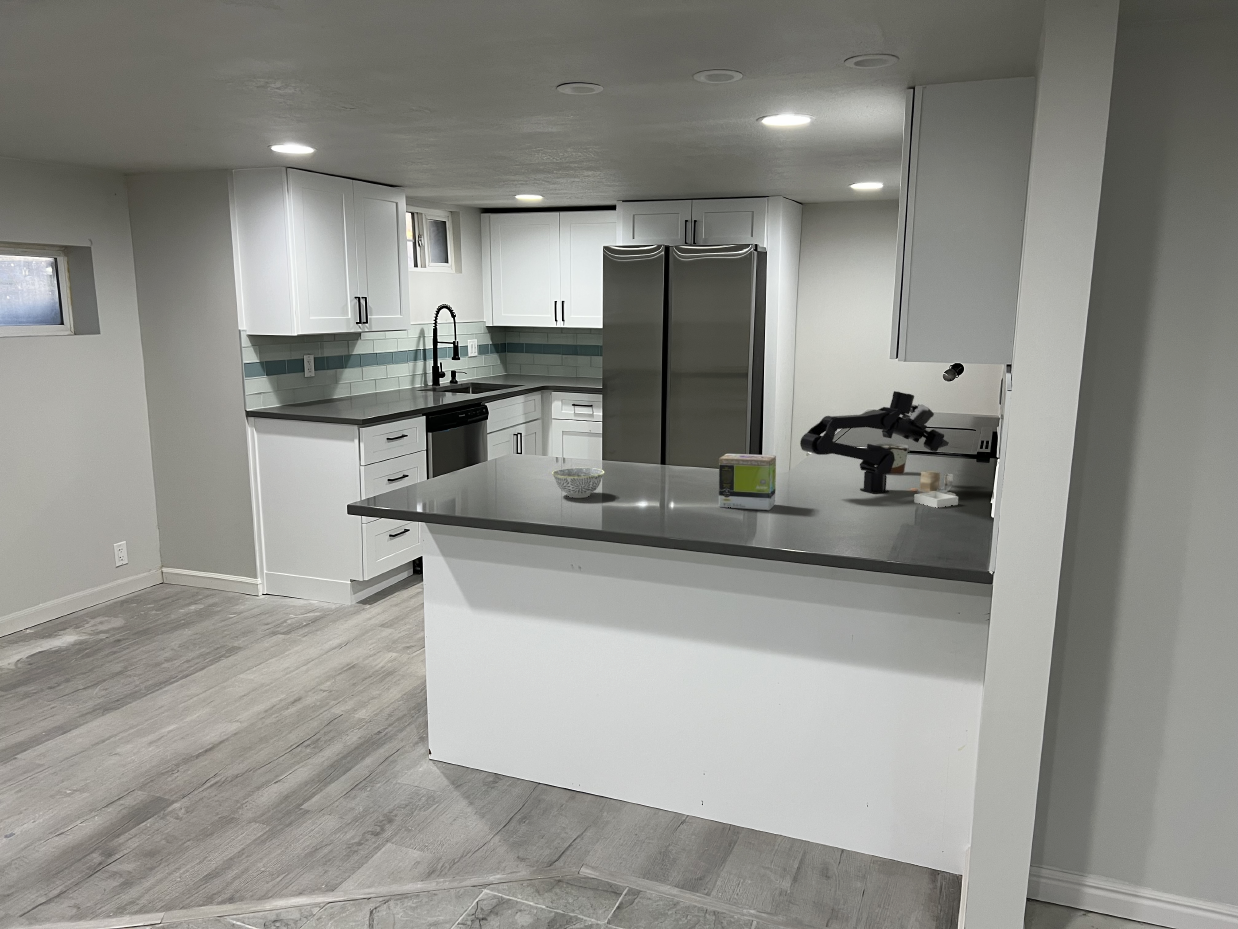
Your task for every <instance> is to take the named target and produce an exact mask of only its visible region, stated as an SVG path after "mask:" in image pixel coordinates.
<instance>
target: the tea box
mask: <svg viewBox="0 0 1238 929" xmlns="http://www.w3.org/2000/svg"><path fill="white" fill-rule="evenodd" d="M776 467H777V455H772V454H771V455H770V454H769V455H767V454H748V453H747V454H745V453H743V454H742V453H725V454H723V455H722V456H721V457H719V458H718V508H728V507H729V509H731V508H732V509H745V510H746V509H747V510H758V511H770V510H771V509H772V508H773V507H774V506H775V505H776V486H777V485H776V482H777V479H776V475H777V473H776V471H777V470H776V469H777V468H776ZM730 507H731V508H730Z"/></svg>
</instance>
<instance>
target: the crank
mask: <svg viewBox="0 0 1238 929" xmlns="http://www.w3.org/2000/svg"><path fill="white" fill-rule="evenodd" d="M943 479H944V480H943V481H944V484H943V486H941V487H939V489H937V492H939V493H944V494H946V493H947V492H949V490H950V489H952V486H953V479H954V474H953V473H945V474H944V478H943Z"/></svg>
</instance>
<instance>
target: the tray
mask: <svg viewBox="0 0 1238 929" xmlns="http://www.w3.org/2000/svg"><path fill="white" fill-rule="evenodd" d="M913 497H914V500H913V503H915V504H919V503H920V505H923V504H924V505H925V506H927V505H928V506H929V507H932V508H935V507H936V509H938V507H939V508H946V507H951V505H953V506H958V504H959V496H957V495H955V496H952V495H948V494H944V493H939V492H929V493H928V492H922V493H915V494H914V495H913ZM945 506H946V507H945Z"/></svg>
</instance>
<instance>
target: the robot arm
mask: <svg viewBox="0 0 1238 929" xmlns="http://www.w3.org/2000/svg"><path fill="white" fill-rule="evenodd" d="M914 399H915V395H914V394H912V393H911V394H910V393H906V392H905V393H904V392H901V391H895V390H894V391H893V393H892V399H891V401H890V405H889V407H888V406H883V407H880V408H879V409H871V410H868V411H865V412H863V413H861V414H849V415H833V416H832V415H825V416H824V417H822V419H821V420H820V421H819V422H817V423H816V424H815V425H813V426H812V427H811V428H809V429H808V430H807V432H806V433H804V434H803V435H802V436H801V438H800V441H799V444H800V449H801V451H803V452H805V453H810V454H814V455H819V456H821V455H824V456H826V455H827V456H828V455H831V454H833V455H837V456H842V457H847V458H852V459H856V460H862V461H861V462H860V463H859V468H860V470H861V471H864V474H863V475H864V477H863V487H861V488H859V491H862V492H866V493H871V494H880V493H881V494H882V493H889V492H890V490H889V489H887V478H888V477H887V475H891V474H890V472H891V469H892V466H893V463H894V460H895V457H894V453H893V452H892V451H890V450H889V449H890V448H887V447H882V446H877V445H876V444H871V443H867V444H866V447H859V446H854V445H851V444H850V445H849V444H845V443H839V442H835V441H834V438H835V435H836V432H837V431H838V430H846V429H847V430H848V429H860V428H862V429H863V428H870V429H876V430H881V433H882V437H883V438H886V439H892V438H893V435H896V436H900V437H902V438H903V439H906V440H912V441H913V442H915V443H919V442H920V440H921V439H922V438H924V439H925V440H924V442H923V447H924V448H925V449H927V450H928V451H930V452H933V453H936V452H938V450H939V449H941V448H943V447H947V446H948V445H949V441H947V440H946V439H944V438H945V434H944V433H942V432H940V431H938V430H936V429H931V430H930V431H929V430H928V429H927V427H928V425H926V424H928V422H929V420H931V418H933V417H934V415H935V413H934V412H933V411H932V409H931V408H929V406H926V405H924V404H920V403H918V404H913V402H914ZM876 466H877V467H876Z"/></svg>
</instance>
